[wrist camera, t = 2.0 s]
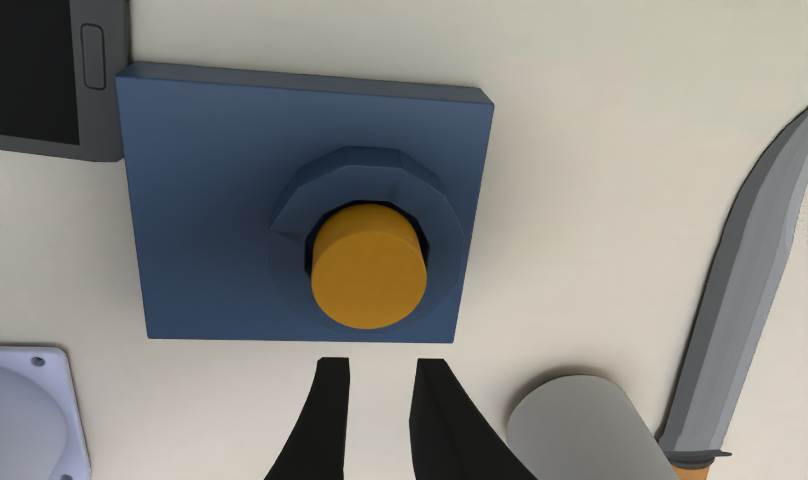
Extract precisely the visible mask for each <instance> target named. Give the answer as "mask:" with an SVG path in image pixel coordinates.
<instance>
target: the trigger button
mask: <svg viewBox="0 0 808 480" xmlns="http://www.w3.org/2000/svg"><path fill="white" fill-rule="evenodd" d="M426 281H427V274H426V268H425V264H424V260H423V257H422V253H421V249H420V245H419V241H418V238H417V235H416V232H415V230H414V228H413V227H412V225H411V224H410V223H409V221H408V220H407V219H406V218H405V217H404V216H403V215H401V214H400V213H398V212H397V211H395V210H393V209H391V208H388V207H386V206H382V205H378V204H358V205H353V206H349V207H347V208H344V209H342V210H340V211H338V212H336V213H335V214H333V215H332V216H331V217H330V218H328V219H327V220H326V221H325V223H324V224H323V225H322V226H321V228H320V229H319V231H318V233H317V235H316V238H315V241H314V247H313V261H312V275H311V287H312V292H313V295H314V298H315V300H316V302H317V303H318V305H319V306H320V308H321V309H322V310H323V311H324V312H325V313H326V314H327V315H328V316H329V317H330V318H332V319H333V320H335V321H337V322H338V323H341V324H343V325H346V326H349V327H353V328H358V329H375V328H381V327H385V326H388V325H391V324H394V323H396V322H398V321H400V320H401V319H403V318H404V317H406V316H407V315H408V314H409V313H411V312H412V311H413V310H414V309H415V307H416V306H417V305H418V303H419V302H420V300H421V298H422V296H423V294H424V291H425V288H426Z"/></svg>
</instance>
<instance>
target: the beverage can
mask: <svg viewBox="0 0 808 480" xmlns="http://www.w3.org/2000/svg"><path fill="white" fill-rule="evenodd" d="M506 437H507V443H508V447H509V449H510V450H511V451H512V453H513V454H514V455H515V456H516V457H517V458H518V459H519V460H520V461H521V462H522V464H523V465H524V466H525V467H526V468H527V469H528V470H529V471H530V472H531V473H532V474H533V475H534V476H535V477H536V478H537V479H538V480H680V479H679V477H678V476H677V474H676V472H675V471H674V469H673V468H672V466H671V464H670V463H669V461H668V460H667V458H666V456H665V455H664V453H663V452H662V450H661V449H660V447H659V445H658V444H657V442H656V441H655V439H654V437H653V436H652V434H651V433H650V431H649V429H648V428H647V426H646V425H645V423H644V421H643V420H642V418H641V417H640V415H639V413H638V412H637V410H636V409H635V407H634V406H633V404H632V402H631V401H630V399H629V398H628V396H627V395H626V393H625V392H624V391H623V390H622V389H621V388H620V387H619V386H618V385H616V384H615V383H613V382H611V381H609V380H607V379H604V378H601V377H597V376H590V375H571V376H564V377H560V378H556V379H553V380H551V381H549V382H546V383H545V384H543V385H541V386H539V387H538V388H537V389H535V390H534V391H532V392H531V393H530V394H528V395H527V396H526V397H525V398H524V399H523V400H522V401H521V402H520V403H519V404H518V406H517V407H516V408H515V410H514V411H513V413H512V415H511V417H510V419H509V421H508V425H507V433H506Z"/></svg>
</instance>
